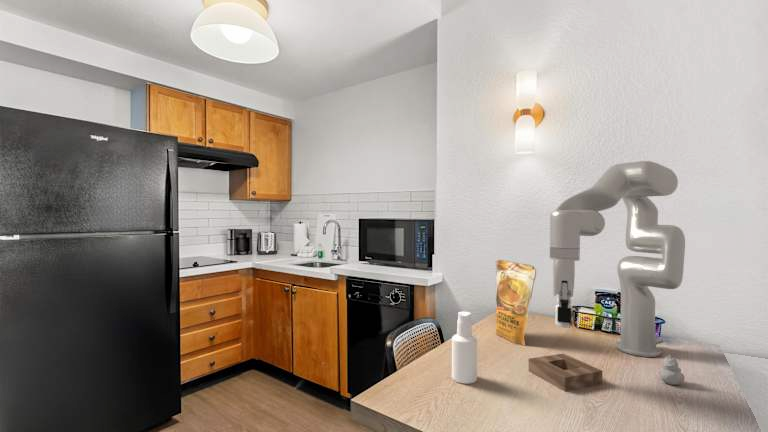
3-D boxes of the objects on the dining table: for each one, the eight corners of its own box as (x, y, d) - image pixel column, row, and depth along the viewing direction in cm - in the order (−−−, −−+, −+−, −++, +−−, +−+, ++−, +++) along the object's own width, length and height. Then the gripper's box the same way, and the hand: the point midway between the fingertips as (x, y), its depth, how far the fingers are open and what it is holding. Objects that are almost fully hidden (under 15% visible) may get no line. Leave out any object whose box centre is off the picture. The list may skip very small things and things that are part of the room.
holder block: (563, 365, 109) (563, 353, 109) (602, 383, 96) (602, 370, 96) (528, 370, 104) (528, 358, 104) (564, 391, 92) (564, 377, 92)
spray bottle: (477, 375, 101) (478, 311, 101) (475, 386, 95) (476, 317, 95) (453, 371, 103) (453, 309, 103) (449, 382, 97) (450, 315, 97)
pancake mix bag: (502, 329, 143) (502, 259, 143) (537, 345, 125) (538, 265, 125) (488, 331, 141) (488, 259, 141) (522, 347, 123) (522, 265, 123)
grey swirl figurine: (653, 381, 98) (653, 351, 98) (667, 376, 101) (667, 348, 101) (676, 389, 93) (676, 358, 94) (690, 384, 96) (690, 354, 96)
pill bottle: (575, 328, 98) (575, 300, 98) (557, 327, 99) (557, 299, 99) (570, 324, 102) (570, 296, 102) (553, 323, 103) (553, 296, 103)
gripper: (550, 251, 110) (549, 311, 110) (549, 256, 95) (548, 325, 94) (578, 252, 107) (577, 314, 106) (581, 257, 91) (581, 330, 91)
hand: (564, 319), depth 100 cm, fingers closed on pill bottle, 4 cm apart
